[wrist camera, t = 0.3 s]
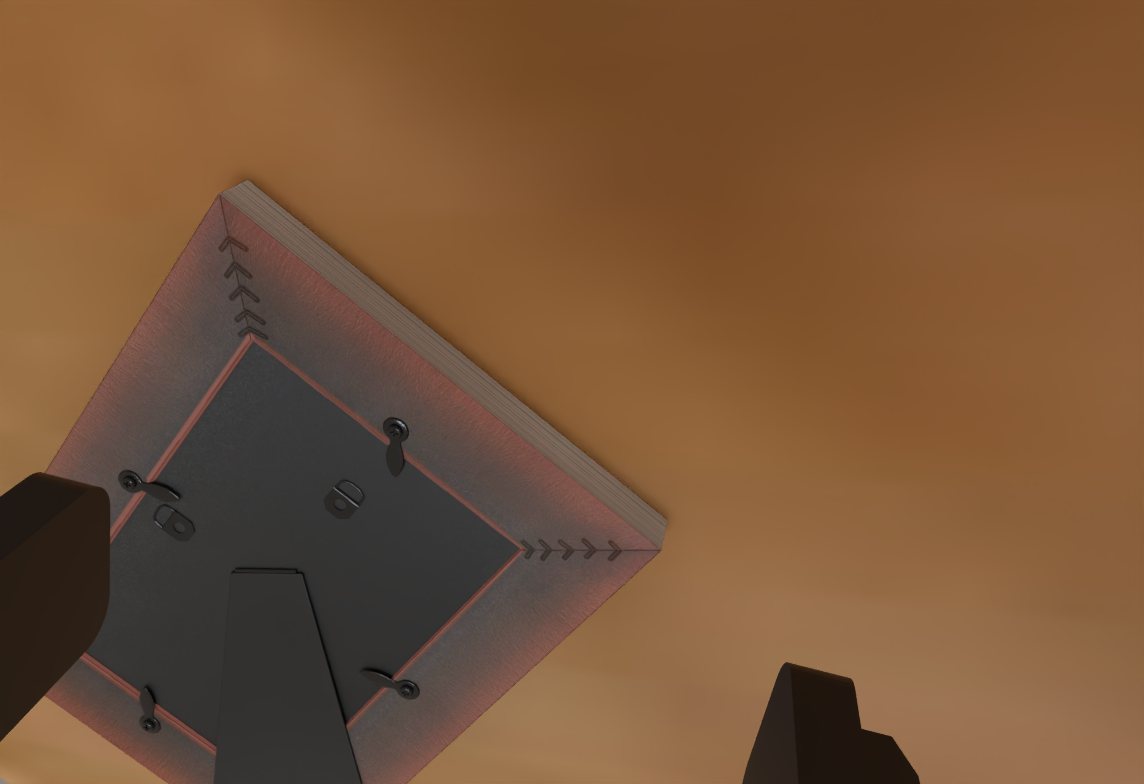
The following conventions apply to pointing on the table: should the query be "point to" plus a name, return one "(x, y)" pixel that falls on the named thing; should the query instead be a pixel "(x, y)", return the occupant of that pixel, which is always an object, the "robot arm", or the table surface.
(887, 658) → the table surface
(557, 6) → the table surface
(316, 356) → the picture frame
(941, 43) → the table surface
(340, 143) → the table surface
